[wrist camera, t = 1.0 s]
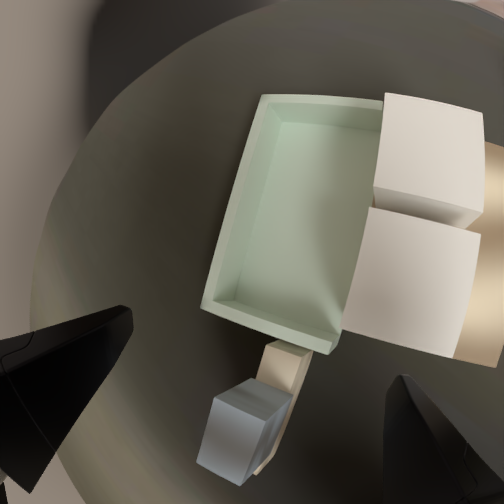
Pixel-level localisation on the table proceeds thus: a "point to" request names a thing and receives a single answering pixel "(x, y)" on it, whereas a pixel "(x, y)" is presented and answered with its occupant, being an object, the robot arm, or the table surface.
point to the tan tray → (486, 271)
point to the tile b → (430, 161)
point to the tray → (297, 218)
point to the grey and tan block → (254, 414)
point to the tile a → (412, 282)
